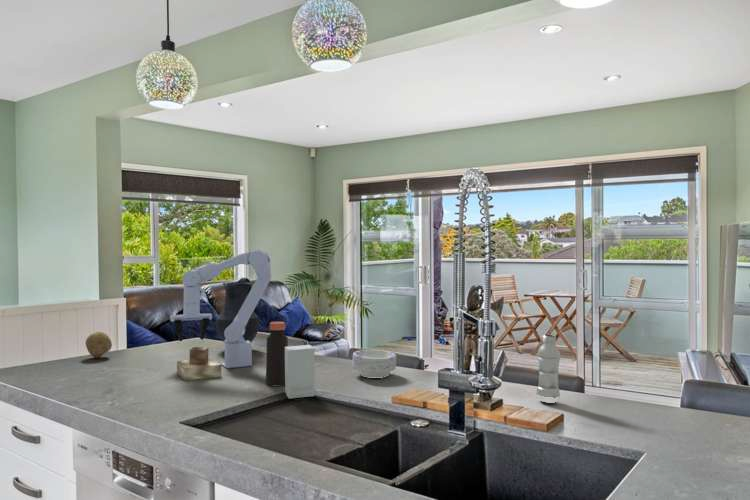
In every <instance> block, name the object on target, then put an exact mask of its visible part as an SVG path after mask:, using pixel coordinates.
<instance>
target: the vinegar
mask: <svg viewBox="0 0 750 500" xmlns="http://www.w3.org/2000/svg"><path fill="white" fill-rule="evenodd" d="M285 331H286V322H284V321H271V322H270V323H269V332H270V334H269V335H268V336H267V337H266V351H265V352H266V354H265V355H266V357H265V358H266V359H265V361H266V365H265V367H266V368H265V369H266V371H265V372H266V373H265V384H266V385H267V384H268V385H267V386H269V385H283V384H285V347H289V346H288V345H289V338H288V336H287V335H286V334H285ZM283 386H284V385H283Z"/></svg>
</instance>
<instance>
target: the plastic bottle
mask: <svg viewBox="0 0 750 500" xmlns="http://www.w3.org/2000/svg"><path fill="white" fill-rule="evenodd" d="M556 339H557V336H556V335H553V334H543V335H542V344H541V346H540V347H539V348H538V351H537V360H538V370H539V371H538V372H539V374H538V375H539V376H538V386H537V389H536V395H537V394H538V395H540V396H544V397H553V398H556V397H559V396H561V394H560V388H559V366H560V365H559V364H560V359H561V351H560V350H559V348H558V347H557V345H556V343H557V340H556ZM559 398H560V397H559Z"/></svg>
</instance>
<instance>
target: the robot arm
mask: <svg viewBox="0 0 750 500" xmlns="http://www.w3.org/2000/svg"><path fill="white" fill-rule="evenodd" d="M239 265H246V266H247V265H250V266H251V267H252V269H254V272H255V274H256V280H255V281H254V283H253V285H252V286H251V287H252V289H251V290H250V292H249V294H248V296H247V298H246V299H245V301H244V303H243V305H242V307H241V309H240V310H239V312H238V314H237V316H236V317H235V319H234V320H233V322H232V323H231V324H230V326H228V327H227V328H226V329H225V332H224V336H225V338H226V340H225V342H224V361H223V362H220V364H221V366H223V367H225V368H226V369H232V368H233V369H234V368H240V367H241V368H242V367H252V366H253V364H252V363H253V362H252V360H253V359H252V357H253V356H252V353H253V352H252V342H251V343H250V341H245V339H244V338H243V337H242V336H243V335H244V333H245V326H246V324H247V322H248V320H249V318H250V316H251V314H252V312H253V311H254V310H255V309H256V307H257V305H258V303H259V301H260V300H261V298H262V296H263V294H264V292H265V291H266V289H267V287H268V285H269V284H270V281H271V279H272V266H271V259H270V257H269V255H268V253H267V252H266V251H265V250H264V249H255V250H253V251H248V252H247V251H246V252H243V253H240V254H237V255H235V256H232V257H230V258H228V259H225V260H223V261H220V262H215V261H210V260H209V261H206V263H205V264H203V265H201V266H195V267H194V268H193V269H192V270H191V269H190V270H189V269H188V270H187V271H186V272H184V274H183V275H182V279H181V280H182V283H183V314H175V315H170V317H169V318H170V322H172V323H173V325H174V327H175V331H176V332H177V337H178V341H179V342H182V341H183V327H184V326H183V325H184V323H183V322H184V321H199V327H200V330H199V339H200V340H202V341H203V340H204V338H205V335H206V331H207V329H208V327H209V325H210V320H212V319H213V313H201V312H200V310H201V309H200V307H201V288H200V286H201V285H200V284H201V283H205V282H207V281H210V280H212V279H214V278H218V277H219V276H220V275H221V272H222V271H225V270H229V269H230V268H234V267H236V266H239Z"/></svg>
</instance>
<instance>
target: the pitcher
mask: <svg viewBox="0 0 750 500" xmlns="http://www.w3.org/2000/svg"><path fill="white" fill-rule="evenodd" d="M222 285H223V286H224V289H225V298H224V299H225V300H224V303H223V304H224V305H223V308H222V310H221V311H220V314H219V315H218V316H217V317H216V319H215V329H216V333H217V335H218V337H219V339H221V340H222V342H223V343H225V340H226V338H225V336H224V332H225V329H226V328H227V327H228V326H230V324H231V323H232V322H233V320H234V319H235V317H236V316H237V314H238V312H239V310H240V309H241V307H242V305H243V303H244V301H245V299H246V298H247V296H248V294H249V292H250V290H251V289H252V287H253V286H252V283H251V280H250V279H249V278H248V277H241V278H239V279H238V281H234V282H222ZM259 323H260V321H259V317H258V315H257V314H256V312H254V311H253V312H252V314H251V316H250V318H249V320H248V322H247V324H246V326H245V333H244V335H243V336H242V337H243V338H244V339H245V341H250V343H251V344H252V342H253V341H254V340H255V338H256V337H257V334H258V332H259V328H260V327H259Z"/></svg>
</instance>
